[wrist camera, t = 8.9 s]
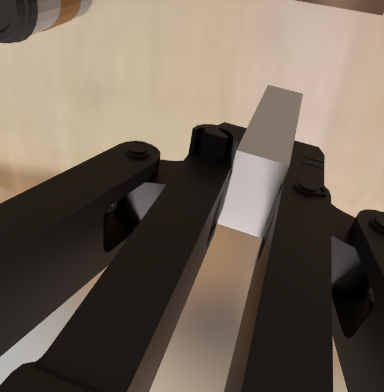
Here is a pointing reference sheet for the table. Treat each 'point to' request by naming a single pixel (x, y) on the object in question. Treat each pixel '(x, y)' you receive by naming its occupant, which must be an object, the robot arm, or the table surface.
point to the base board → (353, 5)
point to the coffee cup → (36, 16)
